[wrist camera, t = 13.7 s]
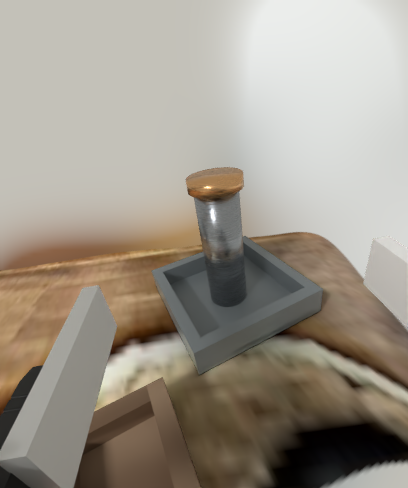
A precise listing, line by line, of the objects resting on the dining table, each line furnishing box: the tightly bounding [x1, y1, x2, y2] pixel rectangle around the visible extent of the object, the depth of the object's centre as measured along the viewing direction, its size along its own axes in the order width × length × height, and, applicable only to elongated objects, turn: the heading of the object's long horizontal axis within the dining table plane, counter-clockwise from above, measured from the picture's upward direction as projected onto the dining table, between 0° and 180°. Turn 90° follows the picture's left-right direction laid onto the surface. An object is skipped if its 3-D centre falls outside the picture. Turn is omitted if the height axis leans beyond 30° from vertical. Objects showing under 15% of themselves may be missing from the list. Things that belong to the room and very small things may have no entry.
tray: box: [152, 236, 323, 375], centre depth 25 cm, size 12×12×2 cm
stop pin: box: [186, 167, 247, 307], centre depth 23 cm, size 4×4×12 cm
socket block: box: [73, 377, 201, 488], centre depth 14 cm, size 7×7×2 cm
